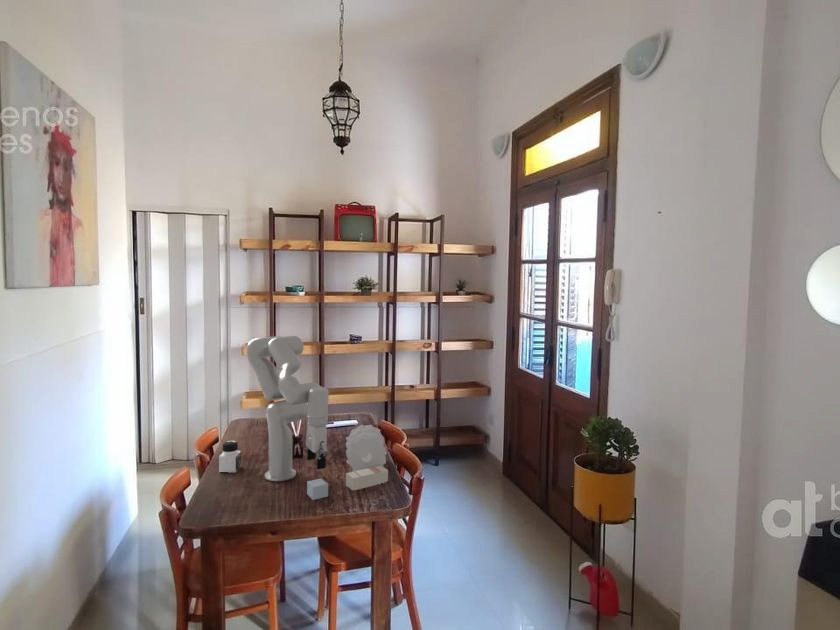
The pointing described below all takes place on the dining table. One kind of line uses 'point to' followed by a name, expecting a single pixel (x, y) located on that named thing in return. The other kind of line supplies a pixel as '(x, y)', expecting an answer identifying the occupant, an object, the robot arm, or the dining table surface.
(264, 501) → the dining table surface
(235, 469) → the medicine bottle
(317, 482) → the grey box
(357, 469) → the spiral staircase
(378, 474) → the block
